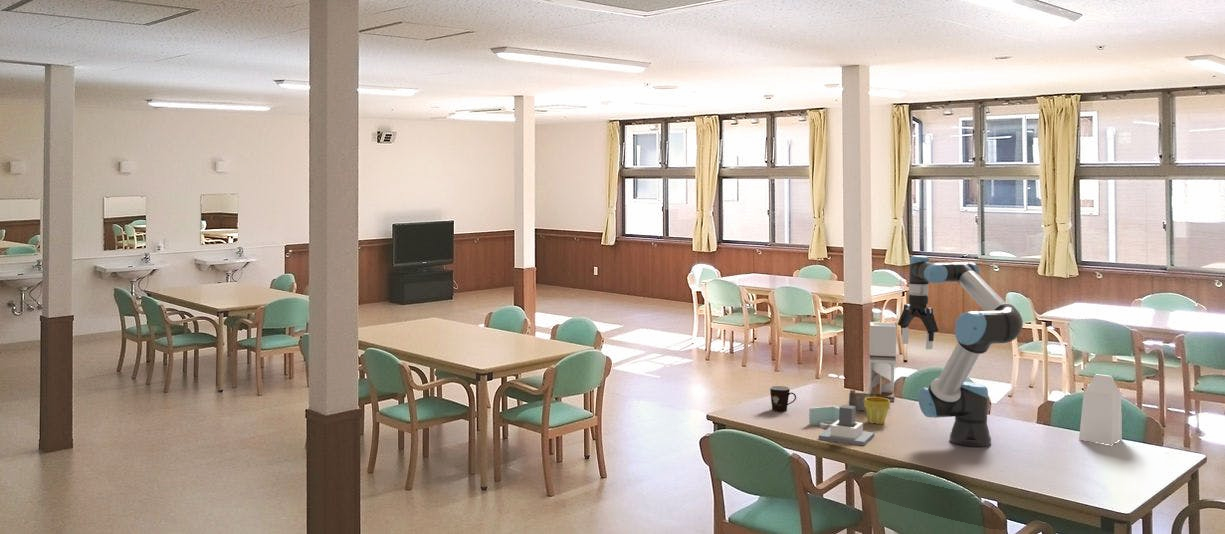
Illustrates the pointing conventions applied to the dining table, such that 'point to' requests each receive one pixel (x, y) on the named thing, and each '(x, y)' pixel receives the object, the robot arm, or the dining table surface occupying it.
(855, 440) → the socket
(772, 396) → the coffee mug
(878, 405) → the plant pot
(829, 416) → the right angle wall
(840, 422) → the plug
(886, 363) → the white stand
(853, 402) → the ruin model on sheet
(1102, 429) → the milk
